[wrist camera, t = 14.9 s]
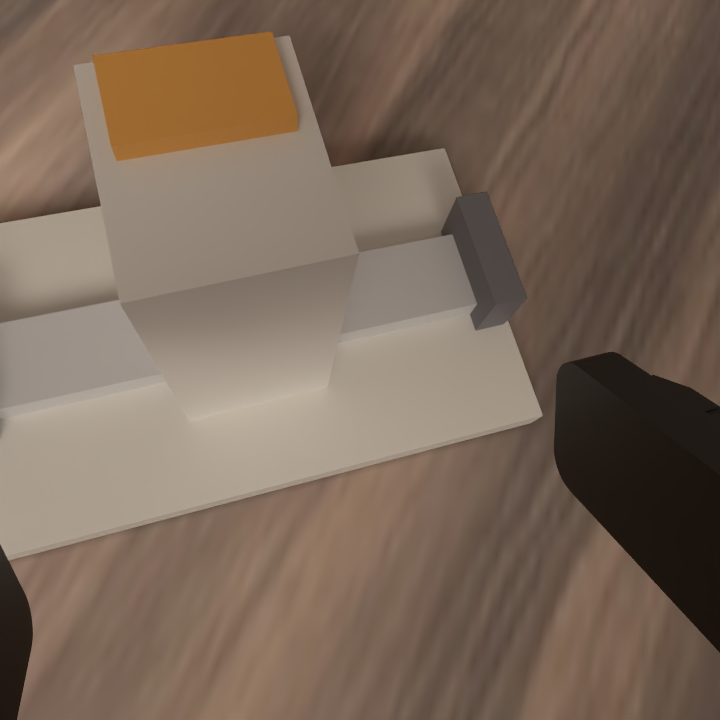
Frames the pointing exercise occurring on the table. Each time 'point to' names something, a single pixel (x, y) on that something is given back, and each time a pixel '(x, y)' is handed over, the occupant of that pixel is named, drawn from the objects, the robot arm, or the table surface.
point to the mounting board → (266, 420)
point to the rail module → (220, 216)
